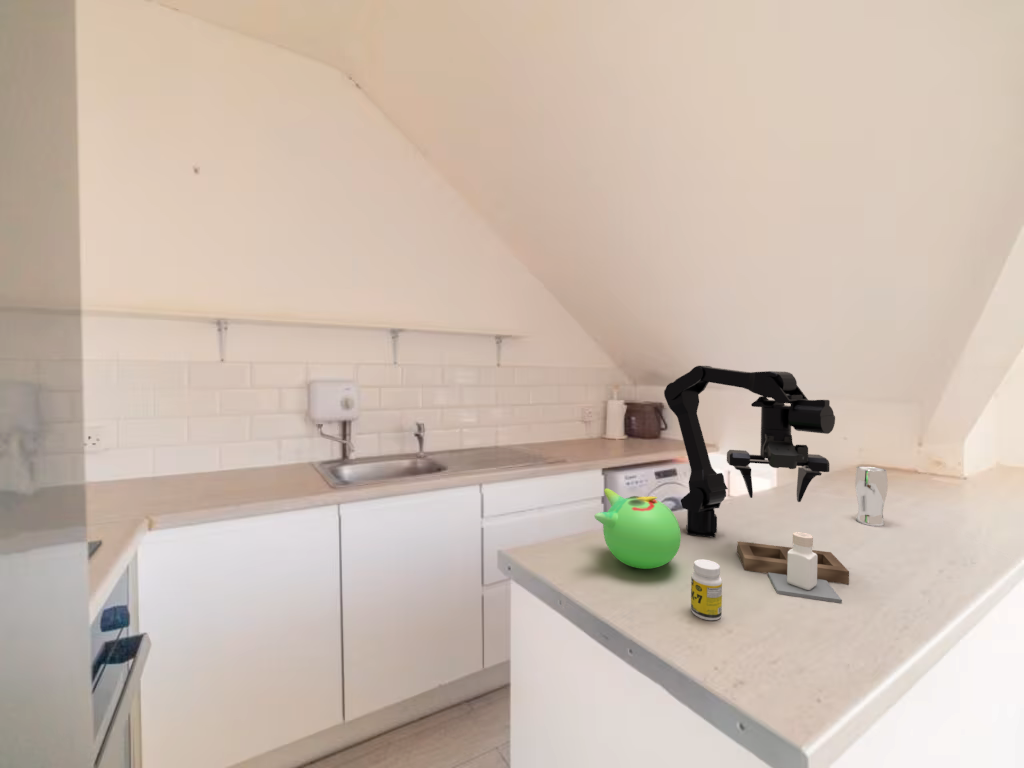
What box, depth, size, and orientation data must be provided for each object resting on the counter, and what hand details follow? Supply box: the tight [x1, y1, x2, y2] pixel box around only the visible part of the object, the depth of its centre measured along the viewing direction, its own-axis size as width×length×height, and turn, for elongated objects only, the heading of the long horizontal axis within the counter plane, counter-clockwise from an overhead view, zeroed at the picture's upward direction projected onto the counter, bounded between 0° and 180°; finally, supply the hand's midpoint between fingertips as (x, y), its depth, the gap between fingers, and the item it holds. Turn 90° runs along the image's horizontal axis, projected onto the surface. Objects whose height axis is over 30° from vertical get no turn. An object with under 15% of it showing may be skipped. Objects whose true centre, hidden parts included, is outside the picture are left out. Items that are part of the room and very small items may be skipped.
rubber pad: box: [767, 572, 843, 604], centre depth 84 cm, size 10×8×1 cm
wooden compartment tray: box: [736, 540, 850, 585], centre depth 93 cm, size 18×10×2 cm, turn 71°
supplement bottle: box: [690, 558, 723, 621], centre depth 74 cm, size 5×5×8 cm
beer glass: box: [854, 465, 889, 527], centre depth 122 cm, size 7×7×15 cm
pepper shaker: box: [787, 531, 818, 590], centre depth 84 cm, size 4×4×10 cm
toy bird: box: [594, 488, 682, 570], centre depth 94 cm, size 18×17×15 cm
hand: (774, 499), depth 97 cm, fingers open, 9 cm apart
